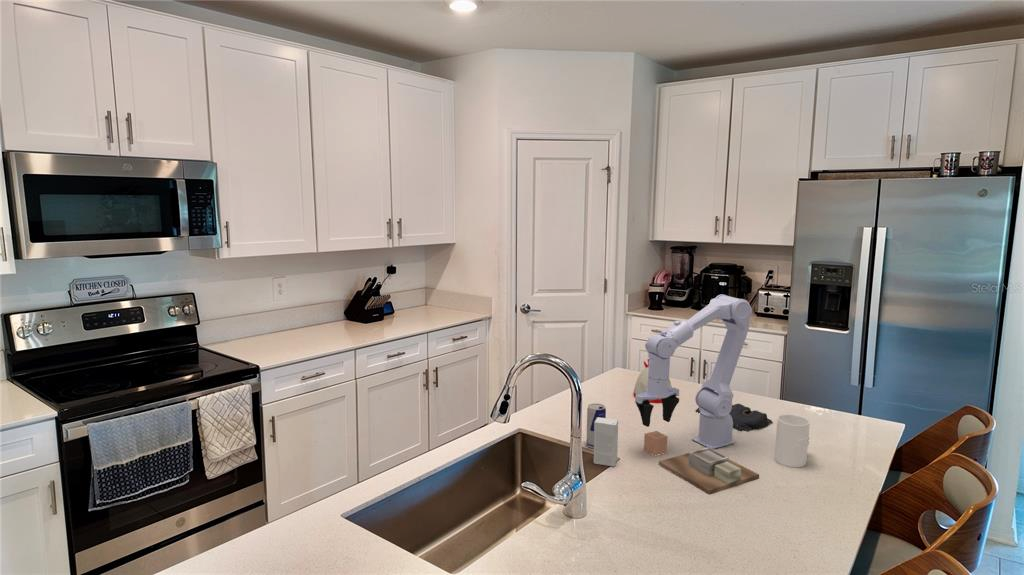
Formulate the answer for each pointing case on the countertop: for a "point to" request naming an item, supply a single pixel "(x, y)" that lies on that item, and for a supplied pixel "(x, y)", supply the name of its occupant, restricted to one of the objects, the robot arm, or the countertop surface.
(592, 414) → the energy drink
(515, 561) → the countertop surface
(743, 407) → the dark slate chunk
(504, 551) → the countertop surface
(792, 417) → the mug
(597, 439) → the skincare box
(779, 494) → the countertop surface
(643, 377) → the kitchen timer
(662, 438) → the terracotta block
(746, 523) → the countertop surface
